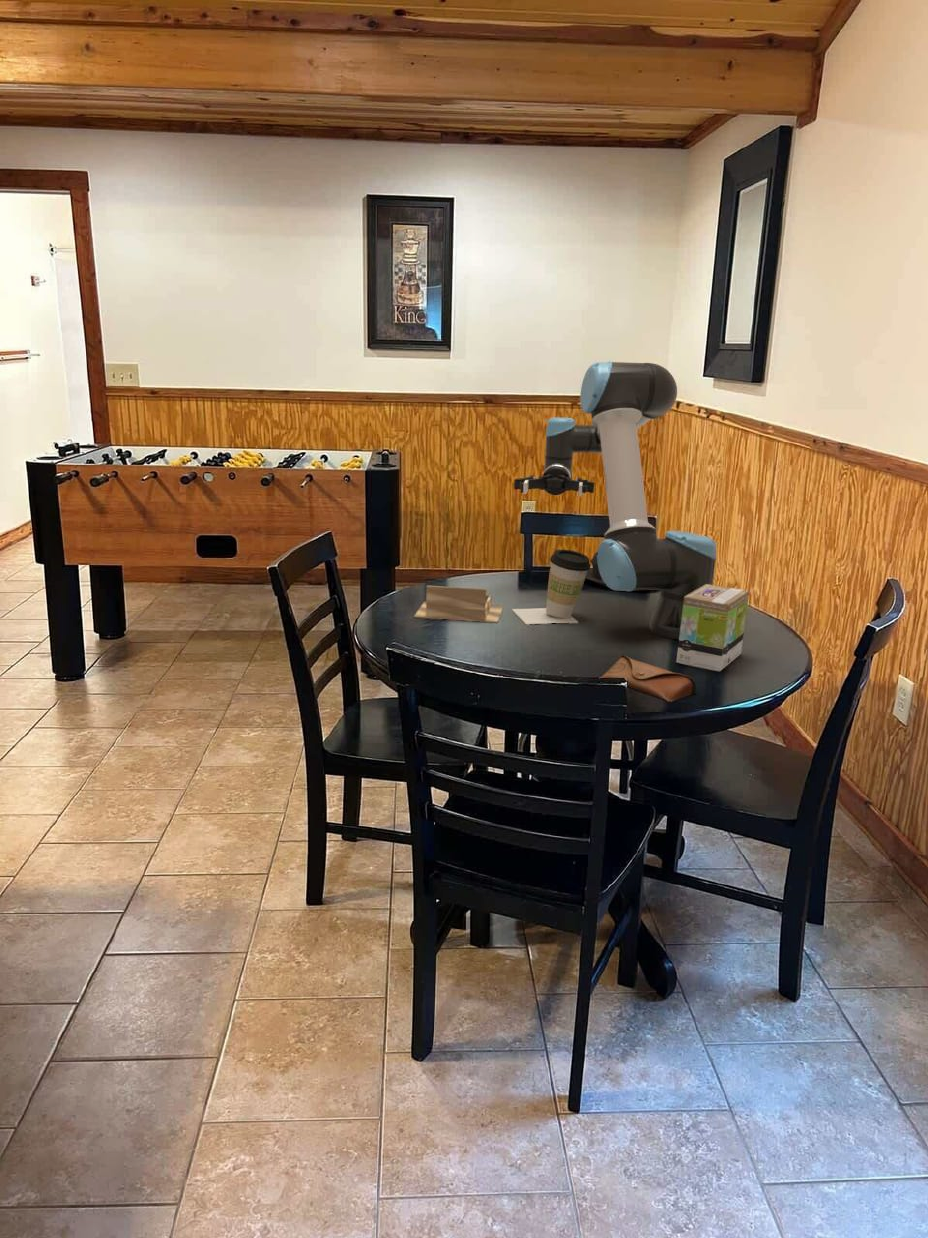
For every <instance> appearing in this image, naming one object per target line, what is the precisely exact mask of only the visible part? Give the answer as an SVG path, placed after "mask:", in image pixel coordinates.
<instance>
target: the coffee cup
mask: <svg viewBox="0 0 928 1238" xmlns="http://www.w3.org/2000/svg"><path fill="white" fill-rule="evenodd" d="M549 561H550V563H551V564H550V569H549V574H548V576H549V577H548V584H547V593H546V597H547V598H546V606H545V608H546V612H547V613H548V614H550V615H552V616H554V617H558V618H569V617H570V616H572V614H573V610H574V608H575V605H576V604H577V602H578V598H579V597H580V593H581V591H582V589H583V586H584V582H585V580H586V579H585V576H586V573H587V571H588V570H589V569H591V562H590V558H589V557H588V556H587V555H586V554H583V553H581V552H578V551H575V550H570V549H557V550H555V551H554V552H553V554H552V555H551V556H550V558H549Z"/></svg>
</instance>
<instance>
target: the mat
mask: <svg viewBox="0 0 928 1238" xmlns="http://www.w3.org/2000/svg"><path fill="white" fill-rule="evenodd" d="M511 611H512V612H513V613H514V614H515V615H516V616H517V617H518V618H519V619H520V621H521V622H522V623H523V624H526V625H525V626H531V625H530V624H533V625H534V624H541V625H551V624H550V623H569V624H579V621H578V620H577V619H576V618H574V617H573V616H572V615H571V616H570V617H569V618H558V617H554V616H552V615H550V614H548V613H547V612H546V607H543V608H542V607H539V608H511ZM548 623H549V624H548ZM533 625H532V626H533Z"/></svg>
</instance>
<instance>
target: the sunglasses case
mask: <svg viewBox="0 0 928 1238" xmlns="http://www.w3.org/2000/svg"><path fill="white" fill-rule="evenodd" d="M600 678H626V679H627V681H628V686H629V687H630V689H632V688H633V689H632V690H634V691H637V690H638V691H637V692H640V691H641V693H643V694H646V695H649V696H652V697H655V698H657V699H659V700H662V701H665V702H667V703H672V702H673V701H676V700H679V699H683V698H685V697H687V696H690V695H694V694H695V693H696V689H697V685H696V682H695V680H694V679H693V678H692V677H690V676H688V675H685V674H682V673H679V672H678V673H677V672H674V671H673V672H672V671H669V670H668V669H665V668H661V667H659V666H655V665H652V664H650V663H649V664H648V663H646V662H644V661H643V662H642V661H639V660H636V659H633V658H631V657H628V656H627V655H624V654H623V655H621V657H620V658H619V659H618V660H617V661H616V662H615V663H613V665H612V666H611V667H610V668H608V670H607V671H606V672H605V673H604V674H603V675H602V676H600V677H599V678H598V679H600ZM629 687H628V688H629Z"/></svg>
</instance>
